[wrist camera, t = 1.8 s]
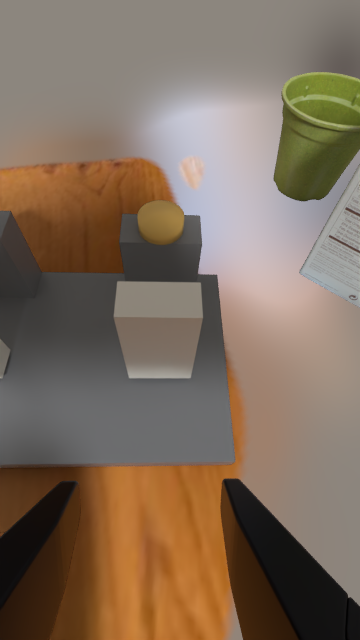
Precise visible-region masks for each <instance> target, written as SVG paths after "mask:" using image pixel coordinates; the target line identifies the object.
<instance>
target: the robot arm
mask: <svg viewBox="0 0 360 640" xmlns="http://www.w3.org/2000/svg"><path fill="white" fill-rule="evenodd" d="M80 512H81V505H80V490H79V483H78V482H77V481H62V482H60V483H59V484H58V485H57V486H56V487H54V488H53V489H52V490H51V491H50V492H49V493H48V494H47V495H46V496H45V497H44V498H43V499H41V500H40V501H39V502H38V503H37V504H36V505H35V506H34V507H33V508H32V509H31V510H29V511H28V512H27V513H26V514H25V515H24V516H23V517H22V518H21V519H20V520H19V521H17V522H16V523H15V524H14V525H13V526H12V527H11V528H10V529H9V530H8V531H7V532H6V533H4V534H3V535H2V536H1V537H0V640H49V639H50V636H51V633H52V629H53V626H54V623H55V620H56V617H57V613H58V610H59V607H60V604H61V600H62V597H63V593H64V590H65V586H66V581H67V577H68V572H69V567H70V563H71V558H72V553H73V548H74V544H75V539H76V534H77V529H78V525H79V520H80ZM221 519H222V527H223V534H224V542H225V549H226V557H227V564H228V572H229V578H230V584H231V589H232V594H233V598H234V603H235V607H236V611H237V615H238V620H239V624H240V628H241V632H242V637H243V640H360V606H359V605H358V604H357V603H356V602H355V601H354V600H353V599H352V598H351V597H350V598H348V594H347V593H346V592H345V591H344V590H343V589H342V587H341V586H340V585H339V584H338V583H337V582H336V581H335V580H334V579H333V578H332V577H331V576H330V575H329V574H328V573H327V572H326V571H325V569H323V568H322V566H321V565H320V564H319V563H318V562H317V561H316V560H315V559H314V558H313V557H312V556H311V555H310V554H309V553H308V551H307V550H306V549H305V548H304V547H303V546H302V545H301V544H300V543H299V542H298V541H297V540H296V539H295V538H294V537H293V536H292V535H291V533H290V532H289V531H288V530H287V529H286V528H285V527H284V526H283V525H282V524H281V523H280V522H279V521H278V520H277V519H276V518H275V517H274V515H272V513H271V512H270V511H269V510H268V509H267V508H266V507H265V506H264V505H263V504H262V503H261V502H260V501H259V500H258V499H257V497H256V496H255V495H254V494H253V493H252V492H251V491H250V490H249V489H248V488H247V487H246V486H245V485H244V484H243V483H242V482H241V481H240V480H239V479H224V480H223V481H222V490H221Z"/></svg>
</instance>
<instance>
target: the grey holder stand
mask: <svg viewBox="0 0 360 640" xmlns="http://www.w3.org/2000/svg"><path fill="white" fill-rule="evenodd" d="M119 244H120V250H121V256H122V262H123V269H124V273H69V272H41V270H40V268H39V266H38V264H37V262H36V260H35V258H34V256H33V254H32V252H31V250H30V248H29V246H28V244H27V242H26V240H25V238H24V236H23V234H22V232H21V230H20V228H19V226H18V224H17V222H16V220H15V218H14V217H13V215H12V213H11V211H0V339H1V340H2V341H3V342H4V343H5V344H6V346H7V347H8V348H9V349H10V354H9V357H8V361H7V364H6V368H5V371H4V375H3V378H0V468H27V467H103V466H179V465H231V464H233V463H234V462H235V452H234V442H233V432H232V422H231V411H230V401H229V391H228V381H227V371H226V360H225V350H224V340H223V330H222V320H221V310H220V299H219V289H218V279H217V275H199V274H198V268H199V261H200V253H201V247H202V238H201V224H200V216H194V215H184V212H183V210H182V209H181V208H180V207H179V206H178V205H176V204H175V203H172V202H170V201H165V200H156V201H151V202H149V203H146V204H145V205H143V206H142V207H141V208H140V210H139V211H138V214H122V222H121V231H120V240H119ZM117 281H129V282H199V283H201V294H202V309H203V321H202V325H201V330H200V335H199V340H198V345H197V350H196V355H195V359H194V364H193V369H192V374H191V378H129V376H128V372H127V368H126V364H125V360H124V356H123V352H122V348H121V344H120V341H119V337H118V333H117V329H116V325H115V321H114V308H115V299H116V289H117Z"/></svg>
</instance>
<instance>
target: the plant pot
mask: <svg viewBox="0 0 360 640" xmlns="http://www.w3.org/2000/svg"><path fill="white" fill-rule="evenodd" d="M282 100H283V102H284V105H283V124H282V131H281V137H280V144H279V150H278V156H277V162H276V167H275V173H274V181H275V182H276V185H277V187H278V190H279V191H280V192H281V193H283V194H284V195H286V196H287V197H290V198H292V199H295V200H299V201H307V200H312V199H316V200H320V199H322V198H324V197H325V196H326V195H327V194H328V193H329V191H330V190H331V189H332V187H333V186H334V185H335V183H336V182H337V180H338V179H339V177H340V176H341V174H342V173H343V172H344V170H345V169H346V167H347V166H348V165H349V163H350V162H351V161H352V159H353V158H354V156H355V155H356V154H357V152H358V151H359V149H360V79H357V78H354V77H350V76H346V75H342V74H335V73H328V72H313V73H306V74H302V75H298V76H295V77H293V78H291V79H289V80H288V81H287V82H286V83H285V84H284V86H283V89H282Z"/></svg>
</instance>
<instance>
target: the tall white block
mask: <svg viewBox="0 0 360 640" xmlns="http://www.w3.org/2000/svg"><path fill="white" fill-rule="evenodd" d="M114 321H115V325H116V329H117V333H118V337H119V341H120V344H121V348H122V352H123V356H124V360H125V364H126V368H127V372H128V376H129V378H191V374H192V369H193V364H194V359H195V355H196V350H197V345H198V340H199V335H200V330H201V325H202V321H203V309H202V294H201V283H199V282H129V281H117V289H116V299H115V308H114Z"/></svg>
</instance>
